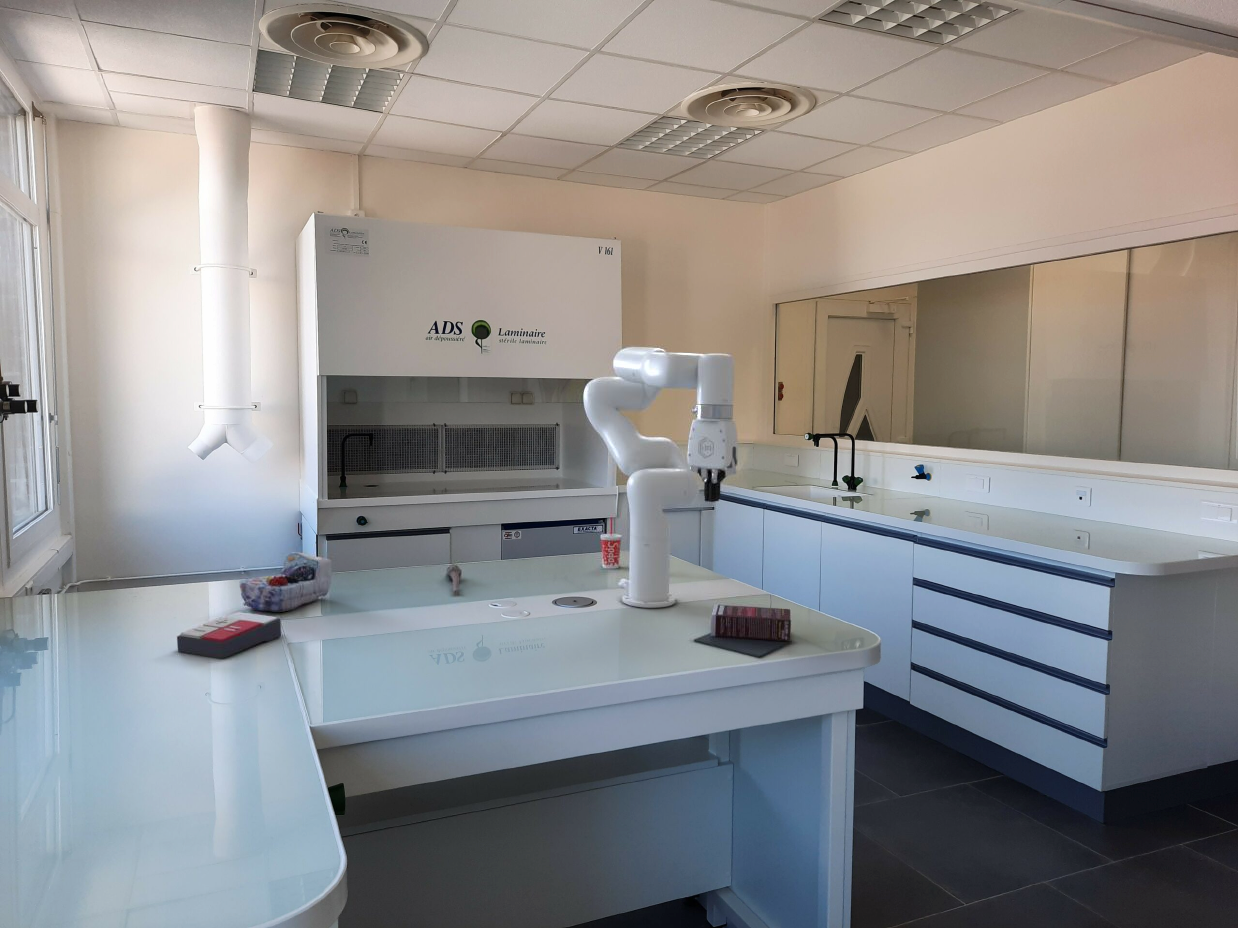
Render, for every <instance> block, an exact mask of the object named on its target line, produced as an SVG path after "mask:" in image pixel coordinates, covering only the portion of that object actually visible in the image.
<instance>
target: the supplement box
mask: <svg viewBox="0 0 1238 928" xmlns="http://www.w3.org/2000/svg"><path fill="white" fill-rule="evenodd" d="M791 630H792V616H791V609H790V608H778V607H763V606H762V607H760V606H745V605H730V604H729V605H728V604H727V605H726V604H714V606H713V609H712V612H711V620H710V633H711V636H717V637H731V638H745V639H760V640H775V641H790V640H791V633H792V631H791Z"/></svg>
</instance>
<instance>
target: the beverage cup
mask: <svg viewBox="0 0 1238 928" xmlns="http://www.w3.org/2000/svg"><path fill="white" fill-rule="evenodd" d="M622 539H623V535H622V534H619V533H613V517H610V533H603V534H600V540H601V562H602V565H601V566H602V568H603V569H608V570H615V569H619V568H620V557H621V556H620V555H621V545H622V544H621V542H622Z"/></svg>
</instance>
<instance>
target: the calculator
mask: <svg viewBox="0 0 1238 928" xmlns="http://www.w3.org/2000/svg"><path fill="white" fill-rule="evenodd" d="M281 622H282V621H281V618H279V617H277V616H270V615H263V614H255V613H249V612H243V611H242V612H241V611H235V612H233V613H230V614H228V615H226V616H220V617H217V618H215V619H213V620H211V621H208V622H205V623H203V624H202V625H197V626H195V627H192V628H189V629H187V630H184V631H182V632H180V634H179V635H177V636H176V643H177V652H179V653H184V654H190V655H197V656H204V657H208V658H209V657H210V658H214V659H221V660H222V659H227V658H229V657H230V656H233V655H235V654H238V653H240V652H242V651H245V650H247V649H249V648H251V647H253V646H255V645H257V644H260V643H262V642H267V643H268V642H271V641H273V640H275V639H277V638H280V637H282V624H281Z"/></svg>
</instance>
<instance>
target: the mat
mask: <svg viewBox="0 0 1238 928" xmlns="http://www.w3.org/2000/svg"><path fill="white" fill-rule="evenodd" d="M693 642H695V643H699V644H704V645H707V646H710V647H715V648H719V649H722V650H727V651H731V652H735V653H739V654H743V655H747V656H751V657H754V658H762V657H765V656H767V655H768V654H771V653H772V652H775V651H778V650H779V649H782V648H783V647H786V646H787V645H790V644H792V643H793V640H791V639H790V641H775V640H760V639H745V638H731V637H717V636H711V632H710V633H707V634H704V635H701V636H700V637H697V638H694V639H693Z"/></svg>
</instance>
